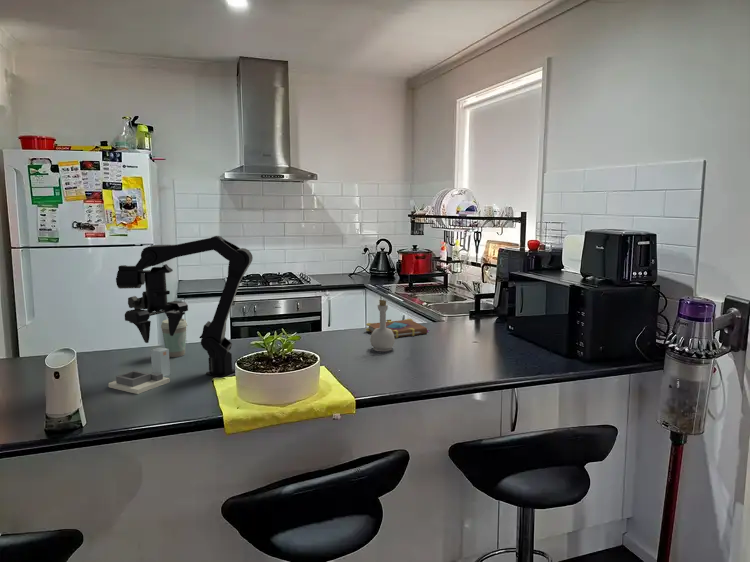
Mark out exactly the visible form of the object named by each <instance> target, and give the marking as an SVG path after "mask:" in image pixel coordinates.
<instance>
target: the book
mask: <svg viewBox="0 0 750 562" xmlns="http://www.w3.org/2000/svg"><path fill="white" fill-rule="evenodd" d="M365 325H366V326H367V328H365V331H367V332H369V333H371V334H372V332H373V331H374V330H375V329H377V328H380V322H374V323H373V322H367V323H366V324H365ZM386 328H388V329H391V330H392V332H393V334H394V339H395V338H396V339H397V338H402V337H410V336H412V337H413V336H414V337H415V336H419V335H426V334H427V333H429V332H430V331H431V329H430V330H429V329H428V327H426V326H424V325H422V324H420V323H419V322H416V321H414V320H413V319H412V318H406V319H399V320H393V321H392V319H386Z"/></svg>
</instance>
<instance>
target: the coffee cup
mask: <svg viewBox="0 0 750 562" xmlns="http://www.w3.org/2000/svg"><path fill="white" fill-rule="evenodd" d="M187 327H188V322H187V320H186V319H185V318H181V320H180V322H179V324H178V326H177V328H176V331H175V333H174V335H173V336H170V333H169V324H168V318H167V319H164V320H162V322H161V324H160V328H161V332H162V337H163V343H164V348H166V349H169V358H179V357H182V356H184V355H185V354H186V344H187V343H186V341H187V340H186V339H187Z"/></svg>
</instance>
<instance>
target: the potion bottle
mask: <svg viewBox="0 0 750 562" xmlns="http://www.w3.org/2000/svg"><path fill="white" fill-rule="evenodd" d="M378 301H379V302H378V303H379V304H377V310H378V311H379V323H380V328H377V329H375V330H374V331H373V332H372V333H371V334H370V339H369V341H370V345H371V347H372V349H373V350H374V351H375V352H376V351H377V352H381V353H382V352H390V351H392V350H393V347H394V345H395V340H396V339H395V338H394V334H393V332H392V330H391V329H388V328H386V322H387V321H386V320H387V311H388V309H389V305H388V304H387V300H385V299H379V300H378Z"/></svg>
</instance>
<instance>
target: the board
mask: <svg viewBox="0 0 750 562" xmlns="http://www.w3.org/2000/svg"><path fill="white" fill-rule="evenodd" d="M115 379H116V380H113V381H111V382H108V388H111V389H115V390H119V391H123V392H127V393H131V394H135V395H139V394H143V393H145V392H147V391H151V390H153V389H155V388H158V387H161V386H162V385H166V384H169V383H170V382H171V379H170V377H167V376H165V377H163V374H161V373H156V372H155V373H147V372H144V371H138V370H131V371H128V372H126V373H122V374H120V375H116V376H115Z"/></svg>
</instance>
